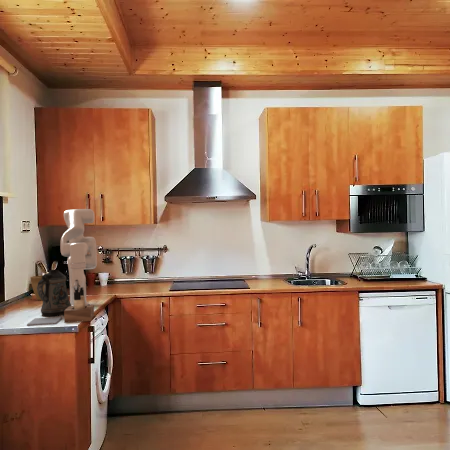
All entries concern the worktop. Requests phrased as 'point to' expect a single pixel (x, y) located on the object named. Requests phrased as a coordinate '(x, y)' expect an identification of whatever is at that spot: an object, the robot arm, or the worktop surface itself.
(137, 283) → the worktop surface
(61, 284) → the beer stein
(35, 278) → the plant pot
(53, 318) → the slate mat
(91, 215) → the robot arm
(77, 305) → the maple plug
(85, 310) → the walnut holder
